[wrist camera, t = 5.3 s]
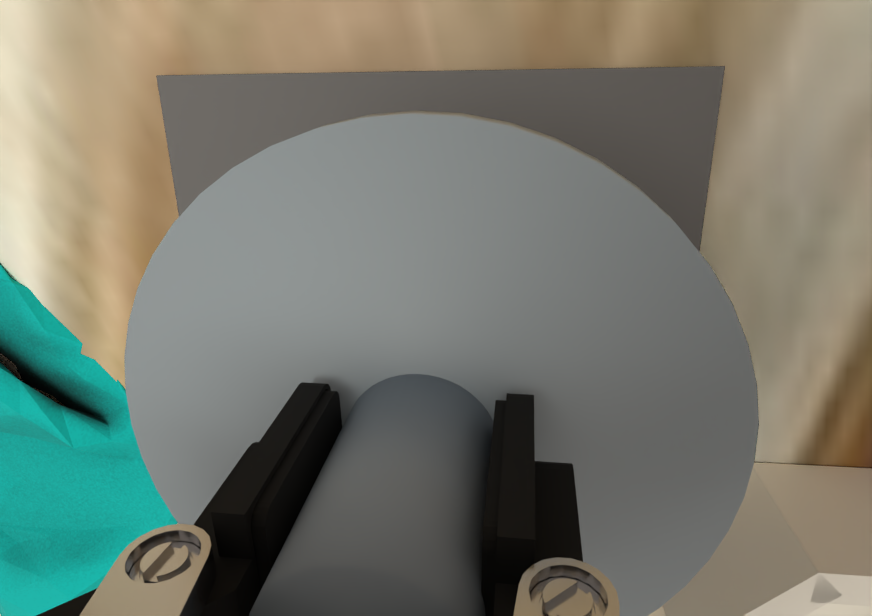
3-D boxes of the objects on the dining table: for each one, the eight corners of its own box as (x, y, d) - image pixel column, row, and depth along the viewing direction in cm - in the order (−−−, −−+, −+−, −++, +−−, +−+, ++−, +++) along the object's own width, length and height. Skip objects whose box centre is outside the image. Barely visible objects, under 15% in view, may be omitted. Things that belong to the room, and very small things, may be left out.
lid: (804, 104, 10) (1100, 161, 5) (698, 664, 15) (789, 994, 10) (85, 116, 12) (-267, 166, 7) (199, 613, 17) (48, 868, 12)
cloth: (216, 704, 29) (193, 753, 27) (-55, 657, 30) (-97, 701, 28) (179, 138, 20) (140, 146, 18) (-210, 99, 21) (-292, 102, 19)
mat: (719, 66, 17) (724, 66, 16) (655, 540, 22) (658, 548, 22) (163, 75, 19) (156, 75, 18) (232, 513, 24) (228, 520, 24)
